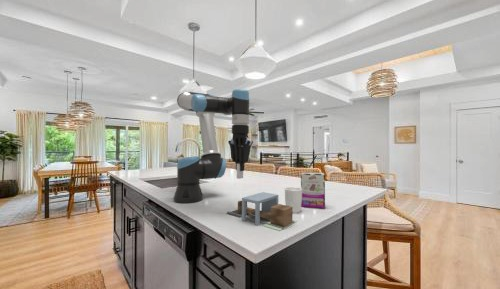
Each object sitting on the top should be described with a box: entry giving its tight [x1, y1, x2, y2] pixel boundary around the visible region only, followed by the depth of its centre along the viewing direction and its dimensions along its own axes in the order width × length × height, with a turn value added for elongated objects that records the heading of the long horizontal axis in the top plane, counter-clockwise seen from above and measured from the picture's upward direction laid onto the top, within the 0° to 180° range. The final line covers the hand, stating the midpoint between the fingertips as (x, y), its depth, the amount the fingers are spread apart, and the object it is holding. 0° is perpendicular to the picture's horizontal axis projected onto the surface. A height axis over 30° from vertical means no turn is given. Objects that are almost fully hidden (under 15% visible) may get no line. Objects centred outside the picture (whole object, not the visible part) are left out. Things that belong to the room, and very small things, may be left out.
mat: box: [262, 219, 297, 232], centre depth 82 cm, size 8×12×1 cm, turn 140°
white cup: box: [284, 186, 302, 214], centre depth 99 cm, size 8×8×10 cm
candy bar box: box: [300, 172, 326, 210], centre depth 105 cm, size 11×5×16 cm, turn 73°
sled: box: [237, 200, 294, 227], centre depth 88 cm, size 24×6×6 cm, turn 50°
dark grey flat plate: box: [226, 209, 249, 219], centre depth 95 cm, size 8×10×1 cm
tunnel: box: [226, 191, 295, 231], centre depth 89 cm, size 28×14×9 cm, turn 50°
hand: (239, 178), depth 96 cm, fingers closed
